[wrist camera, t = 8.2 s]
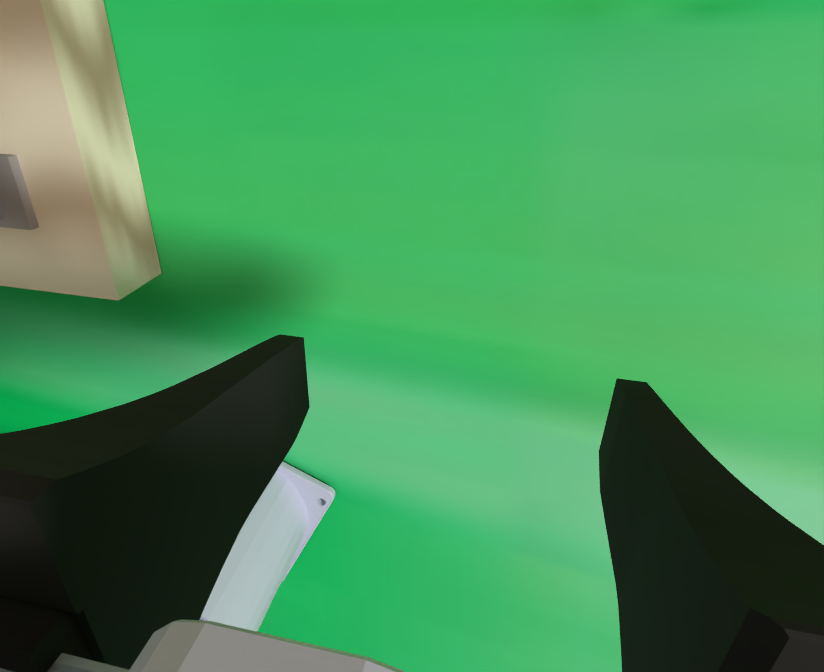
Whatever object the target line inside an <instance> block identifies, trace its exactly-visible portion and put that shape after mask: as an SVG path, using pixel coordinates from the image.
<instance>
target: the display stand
mask: <svg viewBox="0 0 824 672" xmlns="http://www.w3.org/2000/svg"><path fill="white" fill-rule="evenodd" d="M0 201H1V204H2V207H3V210H4V213H5V216H6V218H3V219H1V220H0V286H7V287H15V288H22V289H30V290H38V291H46V292H54V293H62V294H70V295H78V296H86V297H94V298H102V299H110V300H118V301H119V300H121V299H122V298H124V297H125V296H127V295H128V294H130V293H132V292H133V291H135V290H136V289H138V288H139V287H141V286H142V285H144V284H146V283H147V282H149V281H150V280H152V279H153V278H155V277H156V276H158V275H160V274H161V268H160V263H159V259H158V254H157V249H156V245H155V240H154V235H153V231H152V226H151V221H150V216H149V212H148V207H147V202H146V198H145V193H144V188H143V184H142V179H141V174H140V170H139V165H138V160H137V156H136V151H135V146H134V142H133V137H132V132H131V127H130V123H129V118H128V113H127V109H126V104H125V99H124V95H123V90H122V85H121V81H120V76H119V71H118V67H117V62H116V57H115V52H114V48H113V43H112V38H111V34H110V29H109V24H108V20H107V15H106V10H105V6H104V1H103V0H0Z"/></svg>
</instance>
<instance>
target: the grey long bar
mask: <svg viewBox="0 0 824 672" xmlns="http://www.w3.org/2000/svg"><path fill="white" fill-rule="evenodd" d="M3 218H6V216H5V213H4V210H3V207H2V204H1V201H0V220H1V219H3Z"/></svg>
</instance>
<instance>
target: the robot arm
mask: <svg viewBox="0 0 824 672" xmlns="http://www.w3.org/2000/svg"><path fill="white" fill-rule="evenodd" d="M308 409H309V397H308V385H307V373H306V361H305V349H304V338H302V337H295V336H287V335H277V336H275V337H272V338H270V339H268V340H266V341H264V342H262V343H260V344H258V345H256V346H254V347H252V348H250V349H248V350H246V351H244V352H242V353H240V354H238V355H236V356H234V357H232V358H230V359H228V360H226V361H225V362H223V363H221V364H219V365H217V366H215V367H213V368H211V369H209V370H206V371H204V372H202V373H200V374H198V375H195V376H193V377H191V378H189V379H187V380H185V381H182V382H180V383H178V384H176V385H174V386H171V387H169V388H167V389H164V390H162V391H159V392H157V393H154V394H151V395H149V396H146V397H143V398H140V399H138V400H135V401H132V402H129V403H126V404H123V405H120V406H117V407H113V408H110V409H106V410H103V411H100V412H96V413H93V414H89V415H86V416H83V417H79V418H75V419H71V420H67V421H63V422H58V423H54V424H50V425H45V426H40V427H36V428H31V429H26V430H21V431H15V432H10V433H3V434H0V672H404V671H403V670H400V669H397V668H395V667H392V666H390V665H387V664H385V663H382V662H380V661H377V660H374V659H372V658H369V657H366V656H361V655H357V654H352V653H348V652H344V651H339V650H335V649H331V648H326V647H322V646H318V645H313V644H309V643H304V642H300V641H296V640H291V639H287V638H283V637H278V636H274V635H270V634H265V633H261V632H257V631H258V629H259V627H260V625H261V623H262V621H263V619H264V617H265V615H266V613H267V610H268V608H269V606H270V604H271V602H272V600H273V598H274V596H275V594H276V592H277V590H278V588H279V585H280V583H281V582H283V580H284V579H285V577H286V576H287V574H288V572H289V571H290V569H291V568H292V566H293V564H294V563H295V561H296V559H297V558H298V556H299V555H300V553H301V551H302V550H303V548H304V546H305V545H306V543H307V542H308V540H309V538H310V537H311V535H312V534H313V532H314V530H315V529H316V527H317V525H318V524H319V522H320V521H321V519H322V517H323V516H324V514H325V512H326V511H327V509H328V508H329V506H330V504H331V503H332V501H333V499H334V497H335V491H334V489H333V488H332V487H330V486H328V485H327V484H325V483H323V482H321V481H319V480H317V479H315V478H313V477H311V476H309V475H308V474H306V473H304V472H302V471H300V470H298V469H296V468H294V467H292V466H290V465H288V464H287V463H285V462H283V460H284V458H285V456H286V455H287V453H288V452H289V450H290V448H291V447H292V445H293V443H294V441H295V439H296V437H297V435H298V433H299V431H300V428H301V426H302V424H303V421H304V419H305V416H306V414H307V412H308ZM599 472H600V493H601V499H602V506H603V512H604V518H605V524H606V529H607V535H608V541H609V547H610V553H611V558H612V564H613V570H614V576H615V582H616V589H617V597H618V606H619V622H620V638H621V656H622V672H824V545H822V544H821V543H819V542H818V541H817V540H815V539H814V538H812V537H811V536H809V535H808V534H807V533H805V532H804V531H802V530H801V529H800V528H798V527H797V526H795V525H794V524H792V523H791V522H790V521H788V520H787V519H786V518H784V517H783V516H782V515H780V514H779V513H778V512H776V511H775V510H774V509H773V508H771V507H770V506H769V505H768V504H766V503H765V502H764V501H763V500H762V499H760V498H759V497H758V496H757V495H755V494H754V493H753V492H752V491H751V490H749V489H748V488H747V487H746V486H745V485H743V484H742V483H741V482H740V481H739V480H738V479H737V478H736V477H734V476H733V475H732V474H731V473H730V472H729V471H728V470H727V469H726V468H725V467H724V466H723V465H722V464H721V463H720V462H719V461H718V460H717V459H716V458H714V457H713V456H712V455H711V454H710V453H709V452H708V451H707V450H706V449H705V447H704V446H703V445H702V444H701V443H700V442H699V441H698V440H697V439H696V438H695V437H694V436H693V435H692V434H691V433H690V432H689V431H688V429H687V428H686V427H685V426H684V425H683V424H682V423H681V422H680V420H679V419H678V418H677V417H676V416H675V415H674V414H673V412H672V411H671V410H670V409H669V408H668V407H667V406H666V404H665V403H664V402H663V401H662V400H661V398H660V397H659V396H658V395H657V394H656V393H655V391H654V390H653V389H652V388H651V387H650V386H649V385H648V384H647V382H640V381H632V380H624V379H617V380H616V384H615V388H614V392H613V396H612V401H611V405H610V409H609V413H608V417H607V421H606V425H605V429H604V433H603V437H602V441H601V445H600V449H599ZM322 499H323V500H322Z"/></svg>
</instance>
